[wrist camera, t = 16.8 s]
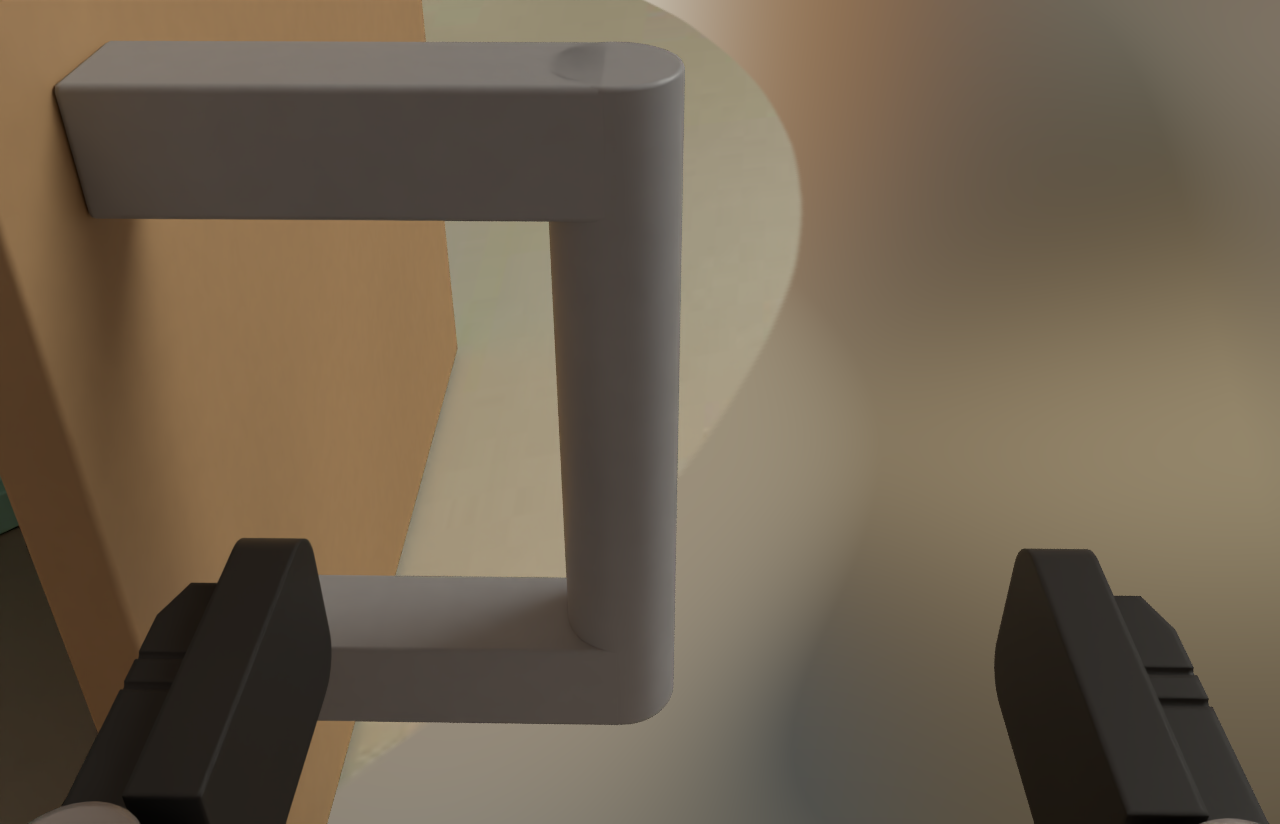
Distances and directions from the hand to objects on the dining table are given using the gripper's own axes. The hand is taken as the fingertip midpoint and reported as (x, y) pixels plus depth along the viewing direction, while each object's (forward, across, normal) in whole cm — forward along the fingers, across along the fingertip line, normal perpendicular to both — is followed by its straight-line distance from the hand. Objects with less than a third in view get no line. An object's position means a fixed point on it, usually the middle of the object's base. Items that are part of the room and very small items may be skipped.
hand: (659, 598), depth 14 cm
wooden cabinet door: (+12, +4, +11) cm, 16 cm away
